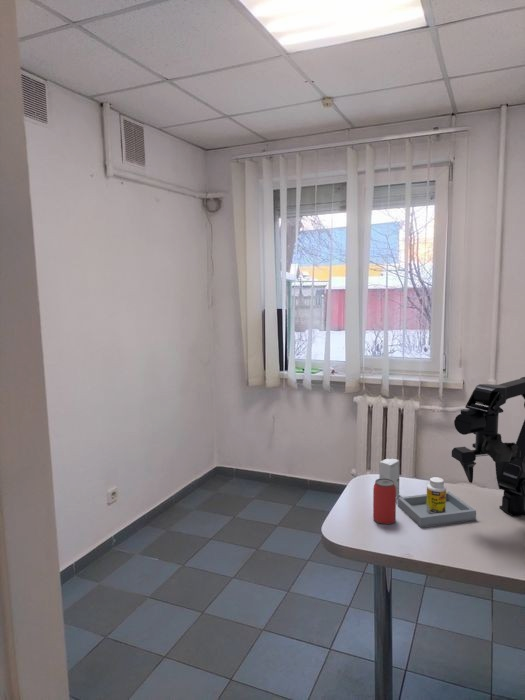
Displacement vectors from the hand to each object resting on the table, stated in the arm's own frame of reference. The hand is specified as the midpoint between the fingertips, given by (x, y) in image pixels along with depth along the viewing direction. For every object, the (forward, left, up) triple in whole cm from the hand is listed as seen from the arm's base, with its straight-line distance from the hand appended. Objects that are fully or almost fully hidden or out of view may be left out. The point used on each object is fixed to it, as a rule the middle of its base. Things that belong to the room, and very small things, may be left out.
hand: (484, 480), depth 141 cm
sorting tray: (+10, -9, -13) cm, 19 cm away
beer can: (+27, -9, -13) cm, 31 cm away
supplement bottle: (+10, -9, -13) cm, 18 cm away
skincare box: (+18, -24, -13) cm, 33 cm away
